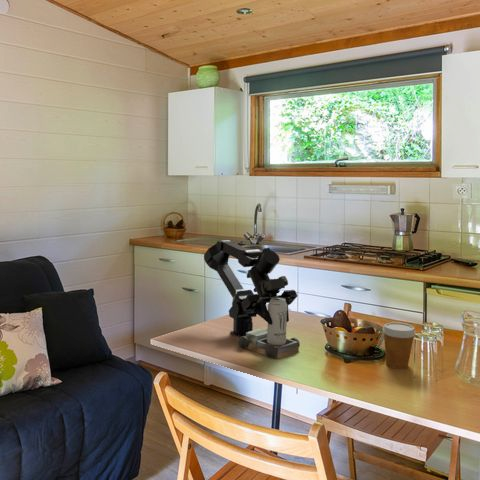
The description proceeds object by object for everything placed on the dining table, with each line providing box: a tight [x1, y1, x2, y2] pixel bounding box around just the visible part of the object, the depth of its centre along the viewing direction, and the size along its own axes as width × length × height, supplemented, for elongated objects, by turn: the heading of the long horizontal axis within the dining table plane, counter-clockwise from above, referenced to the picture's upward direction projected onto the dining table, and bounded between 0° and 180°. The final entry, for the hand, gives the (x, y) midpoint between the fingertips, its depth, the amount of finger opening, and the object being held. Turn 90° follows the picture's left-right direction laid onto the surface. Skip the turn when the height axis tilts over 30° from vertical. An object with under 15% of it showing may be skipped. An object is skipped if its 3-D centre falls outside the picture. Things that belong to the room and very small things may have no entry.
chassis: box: [237, 328, 301, 360], centre depth 174 cm, size 17×12×4 cm
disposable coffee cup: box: [382, 322, 416, 370], centre depth 161 cm, size 10×10×12 cm
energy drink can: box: [267, 298, 288, 347], centre depth 170 cm, size 6×6×15 cm
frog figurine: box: [376, 332, 385, 349], centre depth 176 cm, size 6×7×7 cm
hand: (279, 322), depth 169 cm, fingers closed on energy drink can, 6 cm apart
